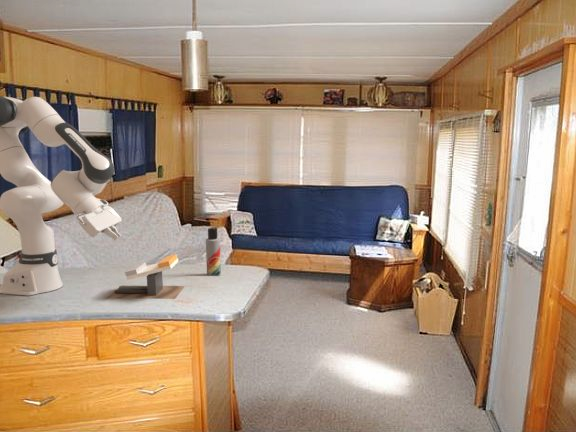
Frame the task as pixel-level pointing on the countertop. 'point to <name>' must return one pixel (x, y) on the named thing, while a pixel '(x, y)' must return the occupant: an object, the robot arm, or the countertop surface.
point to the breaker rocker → (151, 267)
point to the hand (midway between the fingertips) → (118, 238)
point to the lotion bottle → (213, 253)
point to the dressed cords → (132, 290)
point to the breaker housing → (154, 283)
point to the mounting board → (165, 293)
